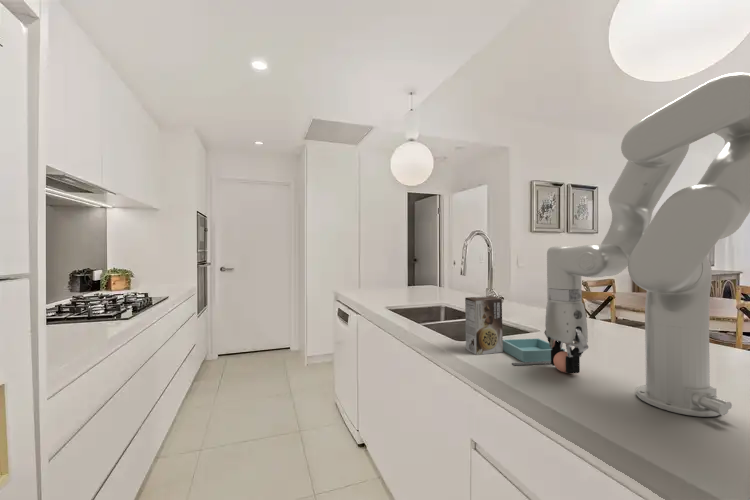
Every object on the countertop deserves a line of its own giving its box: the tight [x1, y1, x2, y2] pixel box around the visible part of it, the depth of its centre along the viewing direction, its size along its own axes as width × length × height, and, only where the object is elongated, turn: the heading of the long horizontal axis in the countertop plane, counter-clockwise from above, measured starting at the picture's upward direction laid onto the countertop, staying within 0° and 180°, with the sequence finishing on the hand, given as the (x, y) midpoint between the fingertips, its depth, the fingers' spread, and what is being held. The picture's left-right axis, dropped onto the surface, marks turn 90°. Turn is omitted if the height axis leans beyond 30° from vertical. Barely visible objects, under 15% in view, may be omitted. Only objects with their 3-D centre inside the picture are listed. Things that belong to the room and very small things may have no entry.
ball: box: [553, 350, 568, 373], centre depth 85 cm, size 5×5×5 cm
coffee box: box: [464, 295, 504, 356], centre depth 104 cm, size 9×6×16 cm
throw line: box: [511, 361, 551, 367], centre depth 91 cm, size 2×16×1 cm, turn 97°
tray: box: [503, 337, 566, 363], centre depth 99 cm, size 12×12×3 cm
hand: (564, 368), depth 85 cm, fingers closed on ball, 4 cm apart
